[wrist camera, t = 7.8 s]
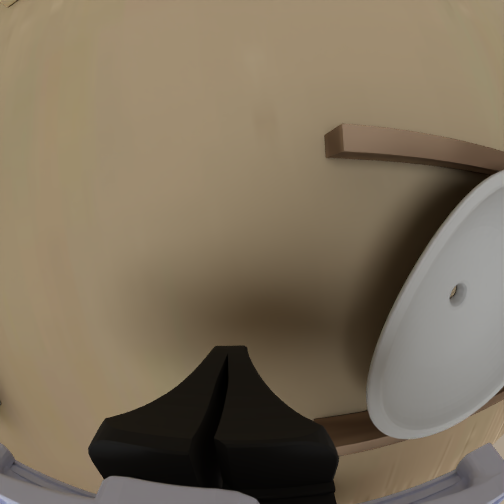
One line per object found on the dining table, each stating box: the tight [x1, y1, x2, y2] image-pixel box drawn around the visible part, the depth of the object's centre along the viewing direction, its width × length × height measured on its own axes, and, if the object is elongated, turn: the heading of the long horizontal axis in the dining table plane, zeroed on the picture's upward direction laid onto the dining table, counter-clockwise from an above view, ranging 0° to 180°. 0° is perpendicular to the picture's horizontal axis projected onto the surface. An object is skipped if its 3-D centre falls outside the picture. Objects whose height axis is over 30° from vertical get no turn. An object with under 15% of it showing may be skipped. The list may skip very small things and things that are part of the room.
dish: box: [366, 170, 504, 439], centre depth 13 cm, size 18×14×5 cm
